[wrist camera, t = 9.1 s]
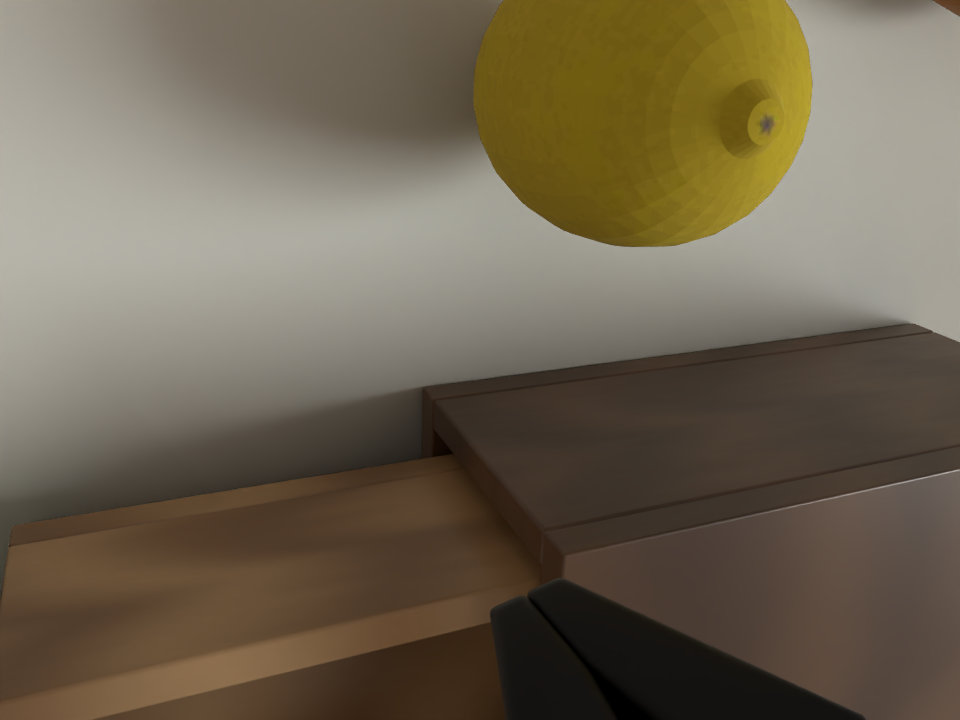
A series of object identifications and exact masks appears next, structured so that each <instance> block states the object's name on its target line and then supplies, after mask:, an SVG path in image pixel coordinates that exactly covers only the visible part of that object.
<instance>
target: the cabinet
mask: <svg viewBox="0 0 960 720" xmlns="http://www.w3.org/2000/svg"><path fill="white" fill-rule="evenodd" d="M449 454H454V455H455V456H456V458H457V459H458V460H459V461H460V463H461V464H462V465H463V466H464V468H465V469H466V470H467V472H468V473H469V474H470V475H471V477H472V478H473V479H474V480H475V482H476V483H477V484H478V486H479V487H480V488H481V489H482V491H483V492H484V493H485V494H486V496H487V497H488V498H489V500H490V501H491V502H492V503H493V505H494V506H495V507H496V508H497V510H498V511H499V512H500V514H501V515H502V516H503V517H504V519H505V520H506V521H507V522H508V524H509V525H510V526H511V528H512V529H513V530H514V531H515V533H516V534H517V535H518V536H519V538H520V539H521V540H522V541H523V543H524V544H525V545H526V547H527V548H528V549H529V550H530V552H531V553H532V554H533V555H534V557H535V558H536V559H537V561H538V562H539V563H540V564H542V572H541V585H543V584H545V583H547V582H549V581H552V580H554V579H557V578H563V579H567V580H569V581H571V582H573V583H575V584H578V585H580V586H582V587H584V588H586V589H589V590H591V591H593V592H595V593H597V594H599V595H602V596H604V597H606V598H608V599H610V600H613V601H615V602H617V603H619V604H621V605H623V606H626V607H628V608H630V609H632V610H634V611H637V612H639V613H641V614H643V615H645V616H647V617H650V618H652V619H654V620H656V621H658V622H661V623H663V624H665V625H667V626H669V627H672V628H674V629H676V630H678V631H680V632H682V633H685V634H687V635H689V636H691V637H693V638H696V639H698V640H700V641H702V642H704V643H706V644H709V645H711V646H713V647H715V648H717V649H720V650H722V651H724V652H726V653H728V654H730V655H733V656H735V657H737V658H739V659H741V660H744V661H746V662H748V663H750V664H752V665H755V666H757V667H759V668H761V669H763V670H765V671H768V672H770V673H772V674H774V675H776V676H779V677H781V678H783V679H785V680H787V681H789V682H792V683H794V684H796V685H798V686H800V687H803V688H805V689H807V690H809V691H811V692H813V693H816V694H818V695H820V696H822V697H824V698H827V699H829V700H831V701H833V702H835V703H838V704H840V705H842V706H844V707H846V708H848V709H851V710H853V711H855V712H857V713H859V714H862V715H863V716H864V717H865V718H866V720H960V342H957V341H955V340H952V339H950V338H947V337H945V336H942V335H940V334H937V333H933V331H931V330H929V329H926V328H924V327H921V326H919V325H916V324H907V325H900V326H892V327H884V328H877V329H869V330H861V331H854V332H846V333H838V334H831V335H823V336H816V337H808V338H800V339H793V340H785V341H777V342H770V343H762V344H754V345H747V346H739V347H731V348H724V349H716V350H708V351H701V352H693V353H685V354H678V355H670V356H662V357H655V358H647V359H639V360H632V361H624V362H616V363H609V364H601V365H594V366H586V367H578V368H571V369H563V370H555V371H548V372H540V373H532V374H525V375H517V376H509V377H502V378H494V379H486V380H479V381H471V382H463V383H456V384H448V385H440V386H433V387H425V388H423V412H422V459H424V458H430V457H437V456H443V455H449ZM541 585H540V586H541Z"/></svg>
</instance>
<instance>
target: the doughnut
mask: <svg viewBox="0 0 960 720" xmlns="http://www.w3.org/2000/svg"><path fill="white" fill-rule="evenodd" d="M933 1H935V2H936V3H938V4H940V5H941V6H943V7H945V8H946V9H948V10H950V11H952V12H953V13H955V14H957V15H958V16H960V0H933Z"/></svg>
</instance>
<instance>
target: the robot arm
mask: <svg viewBox="0 0 960 720" xmlns="http://www.w3.org/2000/svg"><path fill="white" fill-rule="evenodd" d="M490 620H491V627H492V634H493V640H494V647H495V653H496V660H497V666H498V673H499V680H500V686H501V693H502V699H503V706H504V712H505V719H506V720H866V718H865V717H864V716H863V715H862V714H859V713H857V712H855V711H853V710H851V709H848V708H846V707H844V706H842V705H840V704H838V703H835V702H833V701H831V700H829V699H827V698H824V697H822V696H820V695H818V694H816V693H813V692H811V691H809V690H807V689H805V688H803V687H800V686H798V685H796V684H794V683H792V682H789V681H787V680H785V679H783V678H781V677H779V676H776V675H774V674H772V673H770V672H768V671H765V670H763V669H761V668H759V667H757V666H755V665H752V664H750V663H748V662H746V661H744V660H741V659H739V658H737V657H735V656H733V655H730V654H728V653H726V652H724V651H722V650H720V649H717V648H715V647H713V646H711V645H709V644H706V643H704V642H702V641H700V640H698V639H696V638H693V637H691V636H689V635H687V634H685V633H682V632H680V631H678V630H676V629H674V628H672V627H669V626H667V625H665V624H663V623H661V622H658V621H656V620H654V619H652V618H650V617H647V616H645V615H643V614H641V613H639V612H637V611H634V610H632V609H630V608H628V607H626V606H623V605H621V604H619V603H617V602H615V601H613V600H610V599H608V598H606V597H604V596H602V595H599V594H597V593H595V592H593V591H591V590H589V589H586V588H584V587H582V586H580V585H578V584H575V583H573V582H571V581H569V580H567V579H563V578H557V579H554V580H552V581H549V582H547V583H545V584H543V585H541V586H539V587H536V588H534V589H532V590H531V591H529V593H528V594H527V597H525V596H522V595H520V596H517V597H515V598H513V599H510V600H508V601H506V602H504V603H502V604H500V605H497V606H495V607H494V608H492V609H491V611H490Z"/></svg>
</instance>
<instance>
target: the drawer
mask: <svg viewBox="0 0 960 720" xmlns="http://www.w3.org/2000/svg"><path fill="white" fill-rule="evenodd" d="M8 547H9V548H8V552H7V558H6V565H5V572H4V578H3V585H2V592H1V598H0V720H506V719H505V712H504V706H503V699H502V693H501V686H500V680H499V673H498V666H497V660H496V653H495V647H494V640H493V634H492V627H491V620H490V611H491V609H492V608H494V607H495V606H497V605H500V604H502V603H504V602H506V601H508V600H510V599H513V598H515V597H517V596H520V595H522V596H525V597H527V594H528V593H529V591H531V590H532V589H534V588H536V587H539V586H540V585H541V572H542V564H540V563H539V562H538V561H537V559H536V558H535V557H534V555H533V554H532V553H531V552H530V550H529V549H528V548H527V547H526V545H525V544H524V543H523V541H522V540H521V539H520V538H519V536H518V535H517V534H516V533H515V531H514V530H513V529H512V528H511V526H510V525H509V524H508V522H507V521H506V520H505V519H504V517H503V516H502V515H501V514H500V512H499V511H498V510H497V508H496V507H495V506H494V505H493V503H492V502H491V501H490V500H489V498H488V497H487V496H486V494H485V493H484V492H483V491H482V489H481V488H480V487H479V486H478V484H477V483H476V482H475V480H474V479H473V478H472V477H471V475H470V474H469V473H468V472H467V470H466V469H465V468H464V466H463V465H462V464H461V463H460V461H459V460H458V459H457V458H456V456H455V455H454V454H449V455H443V456H437V457H430V458H424V459H418V460H412V461H406V462H400V463H394V464H387V465H381V466H375V467H369V468H363V469H357V470H350V471H344V472H338V473H332V474H326V475H320V476H314V477H307V478H301V479H295V480H289V481H283V482H277V483H270V484H264V485H258V486H252V487H246V488H240V489H234V490H227V491H221V492H215V493H209V494H203V495H197V496H190V497H184V498H178V499H172V500H166V501H160V502H154V503H147V504H141V505H135V506H129V507H123V508H117V509H110V510H104V511H98V512H92V513H86V514H80V515H74V516H67V517H61V518H55V519H49V520H43V521H37V522H30V523H24V524H18V525H14V526H12V528H11V533H10V539H9V546H8Z"/></svg>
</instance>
